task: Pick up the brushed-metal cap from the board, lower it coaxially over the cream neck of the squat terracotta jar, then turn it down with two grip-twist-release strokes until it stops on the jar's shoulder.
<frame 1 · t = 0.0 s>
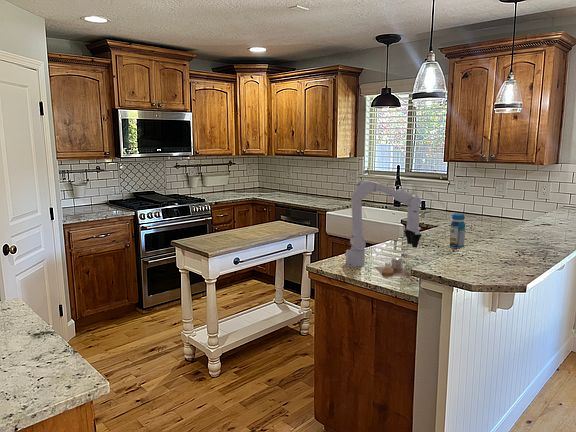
hand: (412, 245, 228), 10 cm above the counter, tool pointing down, fingers open, 7 cm apart
jar: (387, 273, 212), resting on board
cap: (396, 268, 219), point 1 cm above the counter, touching board
board: (392, 273, 215), on the counter
beverage bottle: (456, 247, 265), on the counter
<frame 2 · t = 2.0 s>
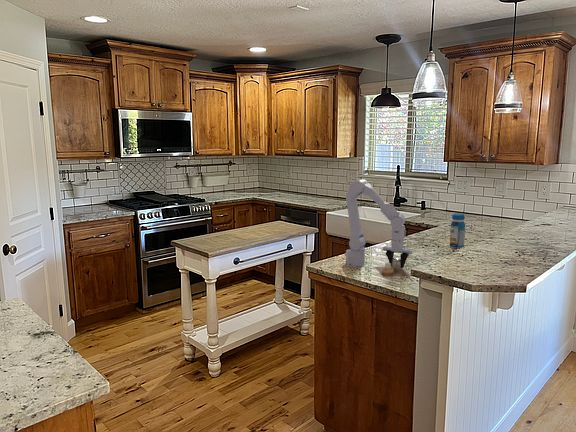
hand: (396, 266, 219), 2 cm above the counter, tool pointing down, fingers closed on cap, 5 cm apart
cap: (396, 268, 219), point 1 cm above the counter, touching board, gripper
everything else where it was.
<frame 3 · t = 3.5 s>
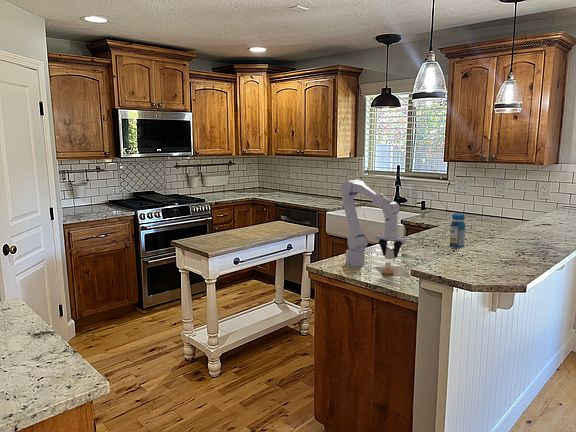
hand: (390, 256, 212), 9 cm above the counter, tool pointing down, fingers closed on cap, 5 cm apart
cap: (390, 257, 212), point 8 cm above the counter, touching gripper
everything else where it was.
when the fingers open (5 cm above the counter, at t = 5.1 s): cap stays where it is, resting on jar.
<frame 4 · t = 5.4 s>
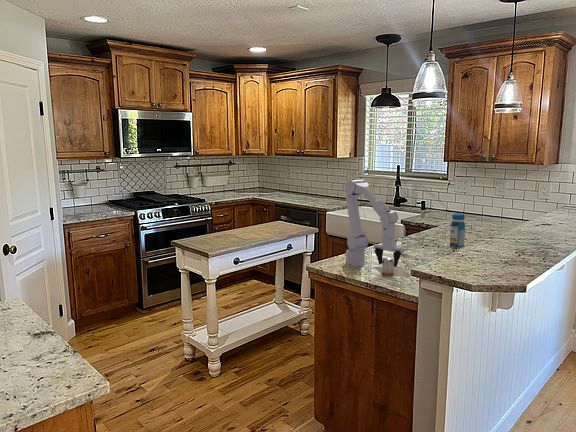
hand: (387, 265, 211), 5 cm above the counter, tool pointing down, fingers open, 7 cm apart
cap: (388, 269, 211), point 3 cm above the counter, touching jar
everything else where it was.
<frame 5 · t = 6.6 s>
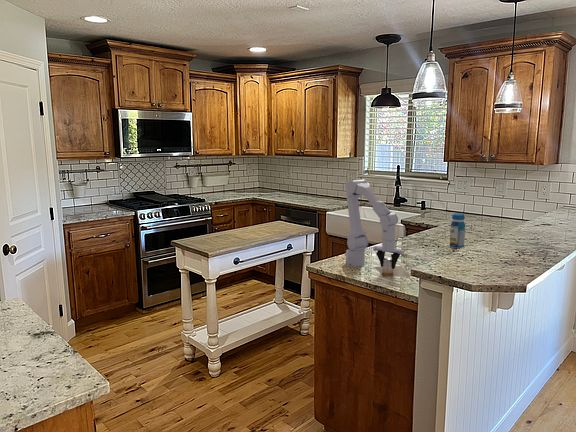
hand: (387, 267, 211), 4 cm above the counter, tool pointing down, fingers closed on cap, 5 cm apart
cap: (388, 269, 211), point 3 cm above the counter, touching gripper, jar
everything else where it was.
when the fingers open (5 cm above the counter, at t = 10.8 s): cap drops 1 cm, resting on jar.
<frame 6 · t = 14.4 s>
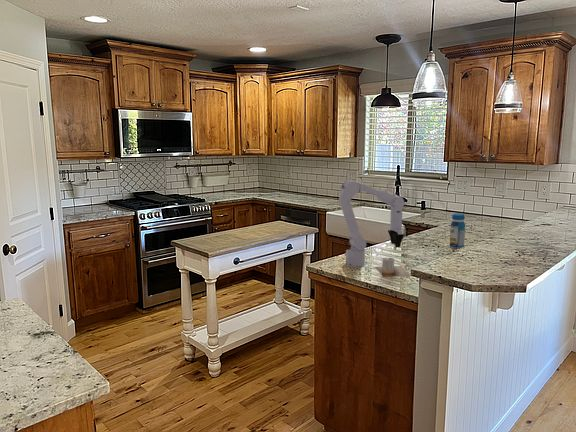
hand: (395, 245, 229), 10 cm above the counter, tool pointing down, fingers open, 7 cm apart
cap: (388, 269, 211), point 3 cm above the counter, touching jar
everything else where it was.
at the end: cap 0.1 cm off-centre on the jar, point 2.0 cm above the jar's base; cap tilted 0°; the gripper is holding nothing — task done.
